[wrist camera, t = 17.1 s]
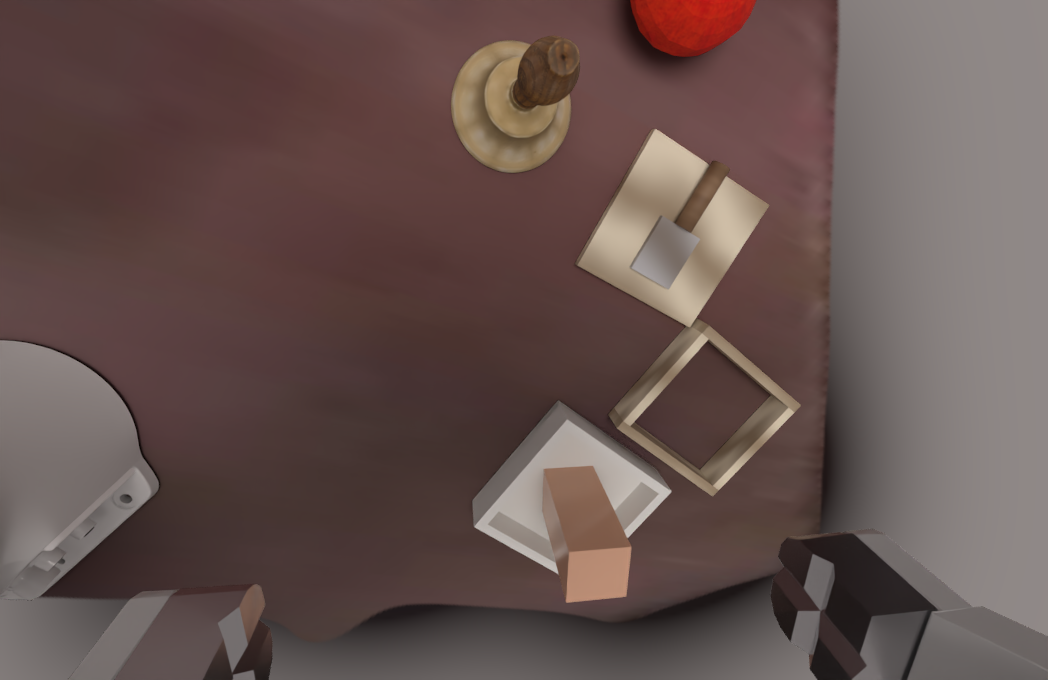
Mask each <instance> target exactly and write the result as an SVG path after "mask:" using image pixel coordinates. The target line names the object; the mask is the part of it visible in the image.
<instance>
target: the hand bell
mask: <svg viewBox="0 0 1048 680" xmlns="http://www.w3.org/2000/svg"><path fill="white" fill-rule="evenodd" d="M579 72H580V62H579V51H578V48H577V46H576V45H575V44H574V43H573V42H572V41H570V40H568V39H564V38H562V37H558V36H548V37H544V38H541V39H539V40H537V41H536V42H534V43H533V44H532V45H531V44H528V43H525V42H520V41H512V40H508V41H499V42H495V43H492V44H489V45H487V46H485V47H483V48H481V49H479V50H478V51H477V52H475V53H474V54H473V55H472V56H471V57H470V58H469V59H468V60H467V61H466V62H465V64H464V65H463V67H462V68H461V70H460V72H459V74H458V76H457V78H456V81H455V84H454V87H453V92H452V99H451V112H452V119H453V123H454V126H455V129H456V132H457V134H458V136H459V138H460V140H461V142H462V144H463V145H464V147H465V148H466V149H467V151H468V152H469V153H470V154H471V155H472V156H473V157H474V158H475V159H476V160H478V161H479V162H480V163H482V164H484V165H485V166H487V167H489V168H492V169H494V170H497V171H501V172H508V173H518V172H524V171H528V170H531V169H534V168H536V167H538V166H540V165H542V164H543V163H544V162H546V161H547V160H548V159H550V158H551V157H552V156H553V155H554V153H555V152H556V151H557V150H558V148H559V147H560V145H561V144H562V142H563V140H564V138H565V136H566V134H567V131H568V128H569V123H570V118H571V98H570V92H571V91H572V89H573V88H574V86H575V84H576V82H577V80H578V77H579Z"/></svg>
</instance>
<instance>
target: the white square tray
mask: <svg viewBox="0 0 1048 680" xmlns="http://www.w3.org/2000/svg"><path fill="white" fill-rule="evenodd" d="M580 466H593V467H594V469H595V471H596V473H597V475H598V477H599V480H600V482H601V484H602V486H603V488H604V490H605V492H606V494H607V496H608V498H609V501H610V503H611V505H612V507H613V509H614V511H615V513H616V515H617V517H618V519H619V522H620V524H621V526H622V528H623V530H624V532H625V534H626V536H627V538H628V537H629V536H630V535H631V534H632V533H633V532H634V531H635V530H636V529H637V528H638V527H639V526H640V524H641V523H642V522H643V521H644V520H645V519H646V518H647V517H648V516H649V515H650V514H651V513H652V512H653V511H654V510H655V509H656V508H657V507H658V506H659V504H660V503H661V502H662V501H663V500H664V499H665V498H666V497H667V496H668V495H669V494H670V493H671V492H672V491H671V490H670V488H669V487H668V485H667V484H666V482H665V481H664V480H663V478H662V477H661V475H660V474H659V472H658V471H657V469H656V468H655V467H653V466H652V465H650V464H649V463H647V462H646V461H645V460H643V459H642V458H640V457H639V456H637V455H636V454H635V453H633V452H632V451H630V450H629V449H627V448H626V447H625V446H623V445H622V444H620V443H619V442H617V441H616V440H615V439H613V438H612V437H610V436H609V435H608V434H606V433H605V432H603V431H602V430H600V429H599V428H598V427H596V426H595V425H593V424H592V423H590V422H589V421H588V420H586V419H585V418H583V417H582V416H580V415H579V414H578V413H576V412H575V411H573V410H572V409H570V408H569V407H568V406H566V405H565V404H563V403H562V402H560V401H559V400H558V401H557V402H556V403H555V404H554V405H553V407H552V408H551V409H550V410H549V411H548V412H547V414H546V415H545V416H544V417H543V418H542V419H541V421H540V422H539V423H538V424H537V425H536V426H535V428H534V429H533V430H532V431H531V432H530V433H529V435H528V436H527V437H526V438H525V439H524V440H523V442H522V443H521V444H520V445H519V446H518V447H517V449H516V450H515V451H514V452H513V453H512V454H511V456H510V457H509V458H508V459H507V460H506V461H505V463H504V464H503V465H502V466H501V467H500V468H499V470H498V471H497V472H496V473H495V474H494V475H493V477H492V478H491V479H490V480H489V481H488V482H487V484H486V485H485V486H484V487H483V488H482V489H481V491H480V492H479V493H478V494H477V495H476V496H475V498H474V499H473V500H472V503H473V520H474V527H475V528H477V529H479V530H480V531H482V532H484V533H486V534H488V535H489V536H491V537H493V538H495V539H497V540H498V541H500V542H502V543H504V544H505V545H507V546H509V547H511V548H513V549H514V550H516V551H518V552H520V553H522V554H523V555H525V556H527V557H529V558H531V559H532V560H534V561H536V562H538V563H539V564H541V565H543V566H545V567H547V568H548V569H550V570H552V571H554V572H556V573H557V574H558V570H557V566H556V562H555V558H554V554H553V551H552V547H551V543H550V539H549V535H548V531H547V528H546V524H545V520H544V516H543V512H542V502H543V473H544V469H548V468H564V467H580Z"/></svg>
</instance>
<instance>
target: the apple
mask: <svg viewBox="0 0 1048 680" xmlns="http://www.w3.org/2000/svg"><path fill="white" fill-rule="evenodd" d="M630 2H631V7H632V12H633V15H634V17H635V20H636V23H637V25H638V28H639V31H640V32H641V33H642V34H643V36H644V37H645V38H646V39H647V40H648V41H649V42H650V44H651V45H652V46H653V47H654V48H656V49H659V50H661V51H663V52H666V53H668V54H671V55H673V56H681V57H688V56H698V55H700V54H703V53H705V52H708V51H709V50H711V49H713V48H715V47H716V46H718V45H720V44H721V43H723V42H724V41H726V40H727V39H728V38H730V37H731V36H732V35H734V34H735V33H736V32H737V31H739V30H740V29H741V28H742V26H743V25H744V23H745V22H746V20H747V19H748V18H749V16H750V14H751V12H752V9H753V7H754V5H755V2H756V0H630Z"/></svg>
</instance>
